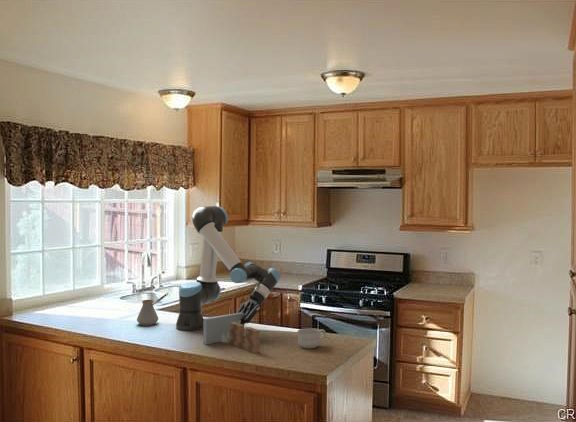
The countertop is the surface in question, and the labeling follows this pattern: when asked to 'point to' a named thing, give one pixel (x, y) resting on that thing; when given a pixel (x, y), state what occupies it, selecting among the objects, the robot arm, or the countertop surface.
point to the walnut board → (245, 337)
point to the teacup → (310, 337)
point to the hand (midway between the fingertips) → (232, 331)
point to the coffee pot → (148, 313)
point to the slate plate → (218, 327)
